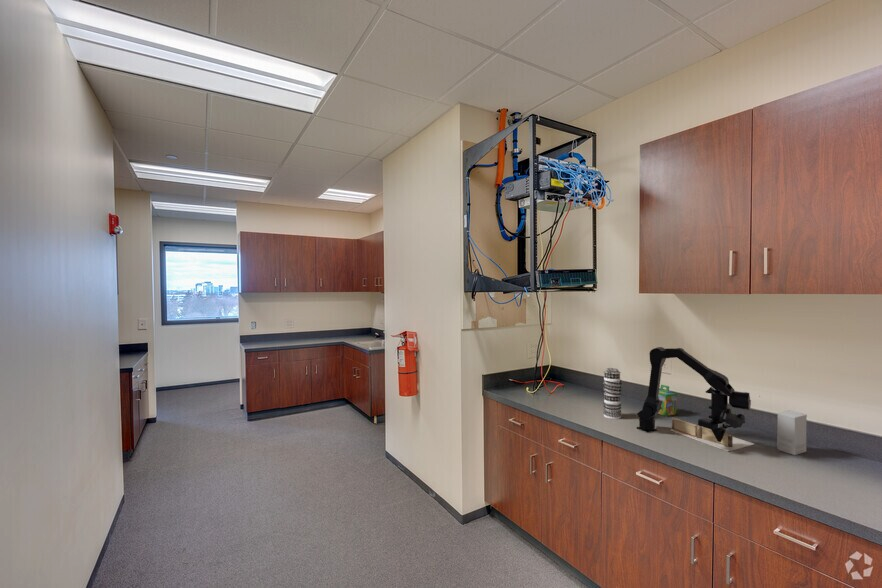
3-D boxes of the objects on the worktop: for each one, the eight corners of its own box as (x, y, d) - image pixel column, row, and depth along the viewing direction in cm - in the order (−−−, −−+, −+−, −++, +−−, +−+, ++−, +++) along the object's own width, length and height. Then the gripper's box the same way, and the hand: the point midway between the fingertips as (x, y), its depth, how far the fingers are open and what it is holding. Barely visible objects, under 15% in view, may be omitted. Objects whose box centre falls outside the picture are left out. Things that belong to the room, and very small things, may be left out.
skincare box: (788, 446, 165) (788, 409, 165) (808, 452, 159) (808, 414, 158) (776, 449, 162) (776, 412, 162) (795, 455, 156) (795, 417, 155)
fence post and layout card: (728, 451, 160) (728, 437, 160) (668, 429, 186) (668, 417, 185) (754, 444, 167) (754, 431, 167) (693, 424, 192) (693, 413, 192)
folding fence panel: (702, 438, 173) (701, 427, 173) (703, 437, 174) (703, 427, 174) (731, 447, 164) (731, 435, 163) (733, 446, 164) (733, 434, 164)
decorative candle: (625, 418, 202) (625, 370, 201) (609, 419, 200) (609, 371, 200) (615, 413, 211) (615, 366, 210) (599, 414, 209) (599, 367, 209)
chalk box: (650, 412, 212) (650, 384, 212) (661, 409, 216) (661, 382, 216) (666, 417, 204) (666, 388, 203) (677, 414, 207) (677, 386, 207)
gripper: (724, 413, 154) (724, 452, 155) (754, 407, 161) (754, 445, 161) (697, 405, 165) (696, 442, 165) (726, 400, 172) (726, 436, 172)
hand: (719, 441), depth 165 cm, fingers closed
